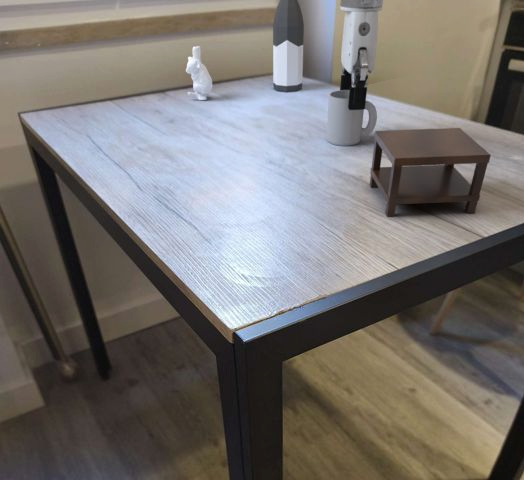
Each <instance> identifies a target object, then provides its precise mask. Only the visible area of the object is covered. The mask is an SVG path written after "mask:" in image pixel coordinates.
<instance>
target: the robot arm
mask: <svg viewBox="0 0 524 480" xmlns="http://www.w3.org/2000/svg"><path fill="white" fill-rule="evenodd" d="M383 3H384V0H340V3H339V4H340V5H339V10H341V11H344V19H343V28H342V29H343V30H342V41H341V51H340V53H341V57H340V62H341V65H342V68H341V74H340V87H339V90H350V91H349V102H348V109H349V110H364V111H365V103H366V101H367V94H368V93H367V92H368V86H369V85H368V82H369V81H368V80H369V75H368V74H373V73H374V71H375V67H376V56H377V44H378V43H377V42H378V30H379V29H378V27H379V26H378V25H379V12H380V11H383Z"/></svg>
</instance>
